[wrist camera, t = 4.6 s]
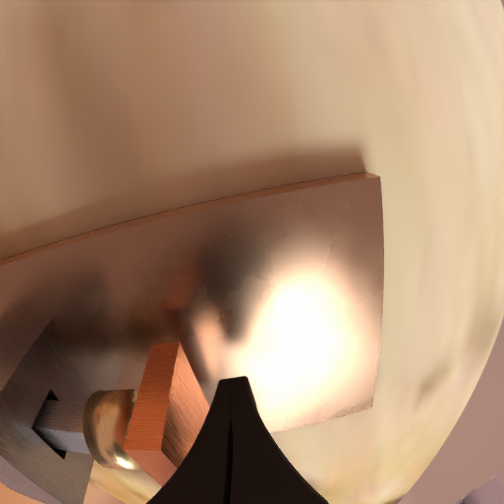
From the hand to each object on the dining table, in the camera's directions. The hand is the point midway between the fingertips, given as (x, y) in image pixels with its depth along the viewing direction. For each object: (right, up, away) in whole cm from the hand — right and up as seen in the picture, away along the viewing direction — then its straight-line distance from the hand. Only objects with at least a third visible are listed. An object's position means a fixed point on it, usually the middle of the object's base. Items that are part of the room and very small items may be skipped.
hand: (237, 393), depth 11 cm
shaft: (-11, -2, +1) cm, 11 cm away
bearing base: (-7, 0, +3) cm, 8 cm away
